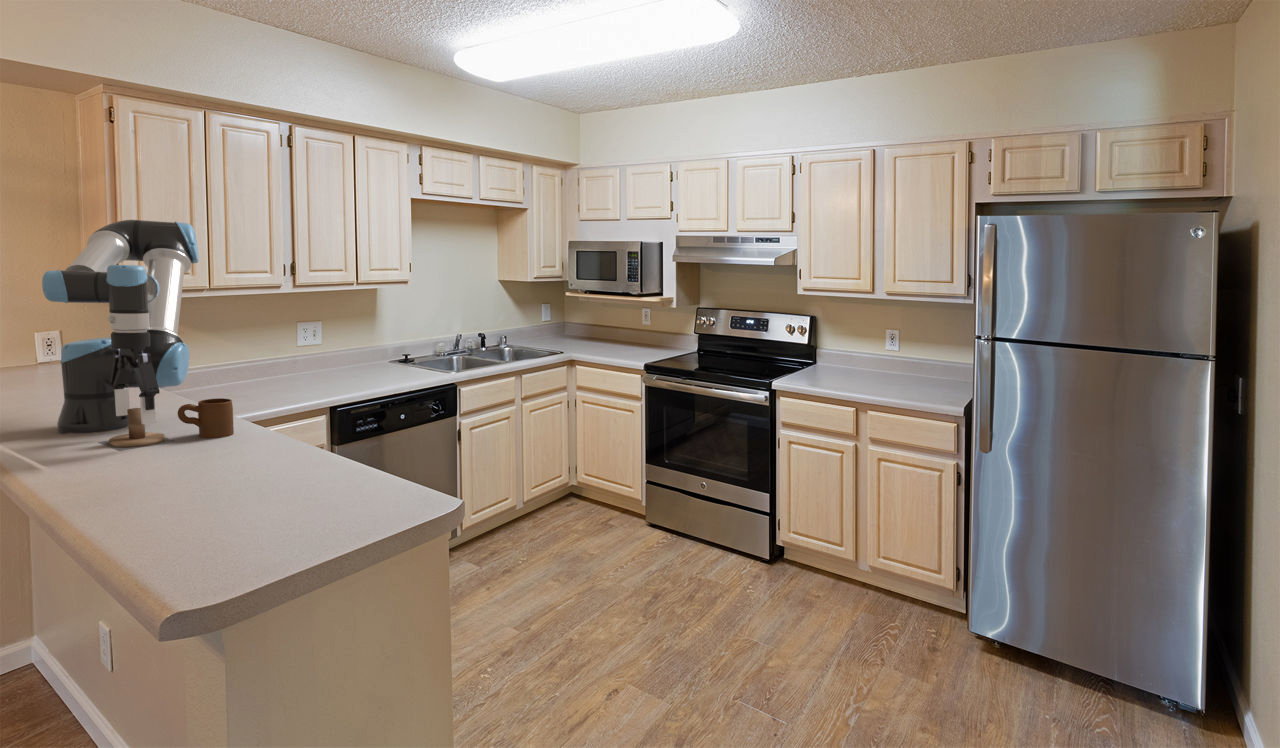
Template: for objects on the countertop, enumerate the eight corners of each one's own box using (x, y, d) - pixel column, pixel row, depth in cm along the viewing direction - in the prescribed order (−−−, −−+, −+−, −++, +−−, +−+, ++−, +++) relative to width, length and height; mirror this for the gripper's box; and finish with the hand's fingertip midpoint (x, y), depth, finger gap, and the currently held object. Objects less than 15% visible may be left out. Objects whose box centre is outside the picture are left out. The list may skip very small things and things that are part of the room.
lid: (101, 442, 169) (98, 409, 168) (152, 434, 178) (150, 402, 177) (121, 450, 163) (119, 416, 162) (173, 441, 172) (171, 409, 171)
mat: (97, 444, 169) (97, 441, 169) (153, 435, 179) (153, 433, 179) (120, 453, 163) (119, 450, 162) (176, 443, 173) (176, 441, 172)
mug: (181, 444, 172) (179, 406, 171) (176, 438, 178) (174, 401, 176) (237, 438, 180) (235, 402, 179) (230, 432, 186) (228, 397, 184)
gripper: (89, 327, 170) (95, 414, 173) (136, 335, 157) (141, 429, 160) (125, 326, 176) (130, 410, 179) (173, 334, 163) (178, 424, 166)
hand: (135, 419), depth 170 cm, fingers open, 13 cm apart
